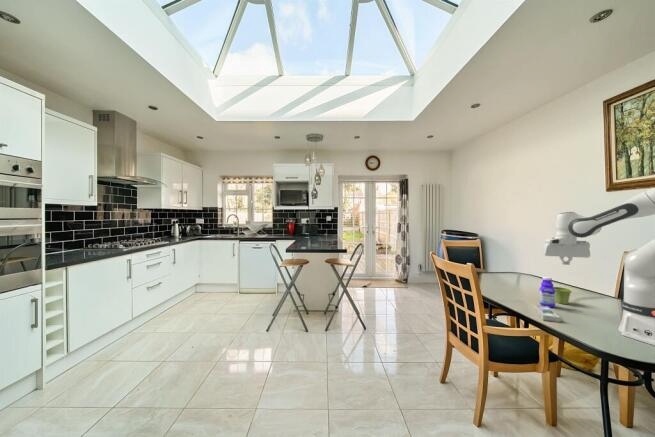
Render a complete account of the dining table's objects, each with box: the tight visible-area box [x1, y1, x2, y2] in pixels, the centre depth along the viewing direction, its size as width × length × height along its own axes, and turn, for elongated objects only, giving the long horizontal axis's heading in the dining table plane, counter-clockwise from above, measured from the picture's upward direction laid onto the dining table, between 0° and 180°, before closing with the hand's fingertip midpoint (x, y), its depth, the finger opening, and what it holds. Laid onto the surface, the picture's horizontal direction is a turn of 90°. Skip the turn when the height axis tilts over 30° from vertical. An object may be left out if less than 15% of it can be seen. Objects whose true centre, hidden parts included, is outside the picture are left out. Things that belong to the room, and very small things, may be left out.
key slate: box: [540, 307, 553, 313], centre depth 142 cm, size 4×4×2 cm
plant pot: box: [553, 286, 573, 305], centre depth 162 cm, size 9×9×9 cm
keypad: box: [532, 304, 561, 323], centre depth 142 cm, size 17×7×3 cm, turn 156°
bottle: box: [538, 276, 556, 308], centre depth 156 cm, size 7×6×17 cm
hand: (565, 264), depth 149 cm, fingers closed
